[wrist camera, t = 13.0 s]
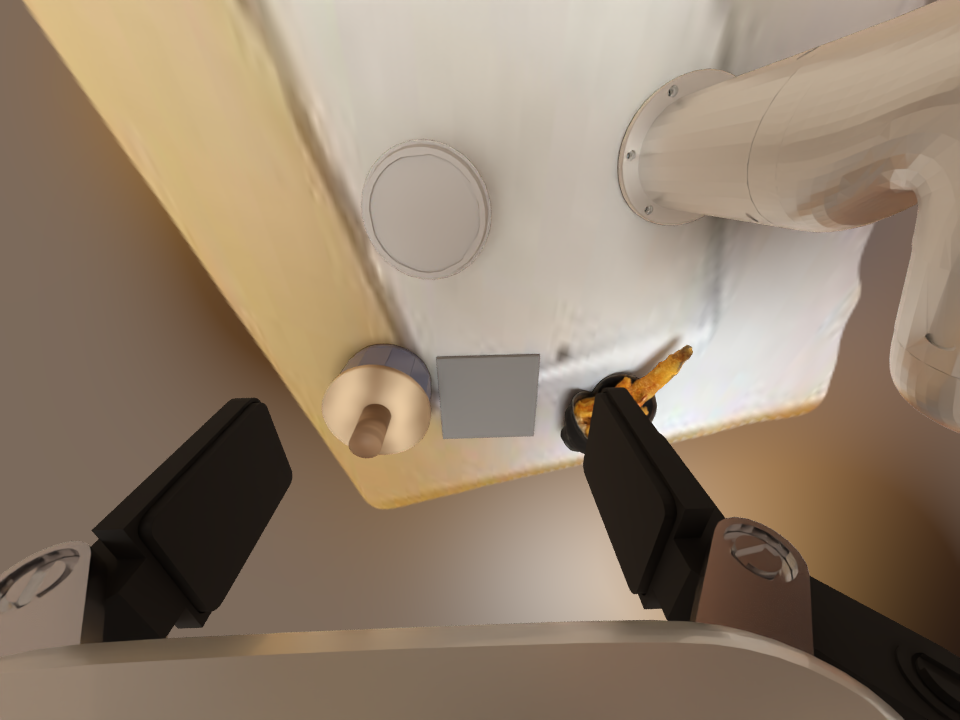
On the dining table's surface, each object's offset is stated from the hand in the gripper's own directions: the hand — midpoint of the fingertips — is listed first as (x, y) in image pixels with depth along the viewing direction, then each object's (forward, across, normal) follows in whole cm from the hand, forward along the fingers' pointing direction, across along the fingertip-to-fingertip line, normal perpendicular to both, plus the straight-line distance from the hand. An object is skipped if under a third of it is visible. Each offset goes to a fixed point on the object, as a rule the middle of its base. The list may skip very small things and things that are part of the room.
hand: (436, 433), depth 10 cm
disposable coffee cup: (+31, +2, -4) cm, 31 cm away
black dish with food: (+31, -20, +19) cm, 41 cm away
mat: (+30, -3, +20) cm, 36 cm away
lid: (+24, +10, +17) cm, 31 cm away
